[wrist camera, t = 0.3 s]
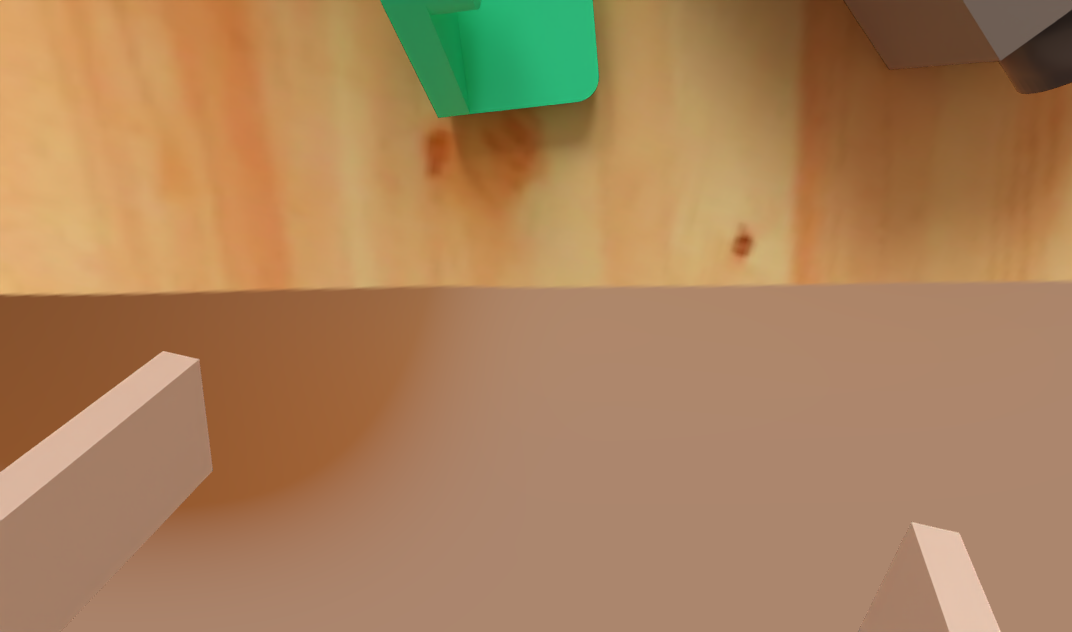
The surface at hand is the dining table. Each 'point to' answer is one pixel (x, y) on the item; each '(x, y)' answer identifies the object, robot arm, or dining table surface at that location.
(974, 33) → the camera body
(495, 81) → the camera mount
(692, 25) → the dining table surface
